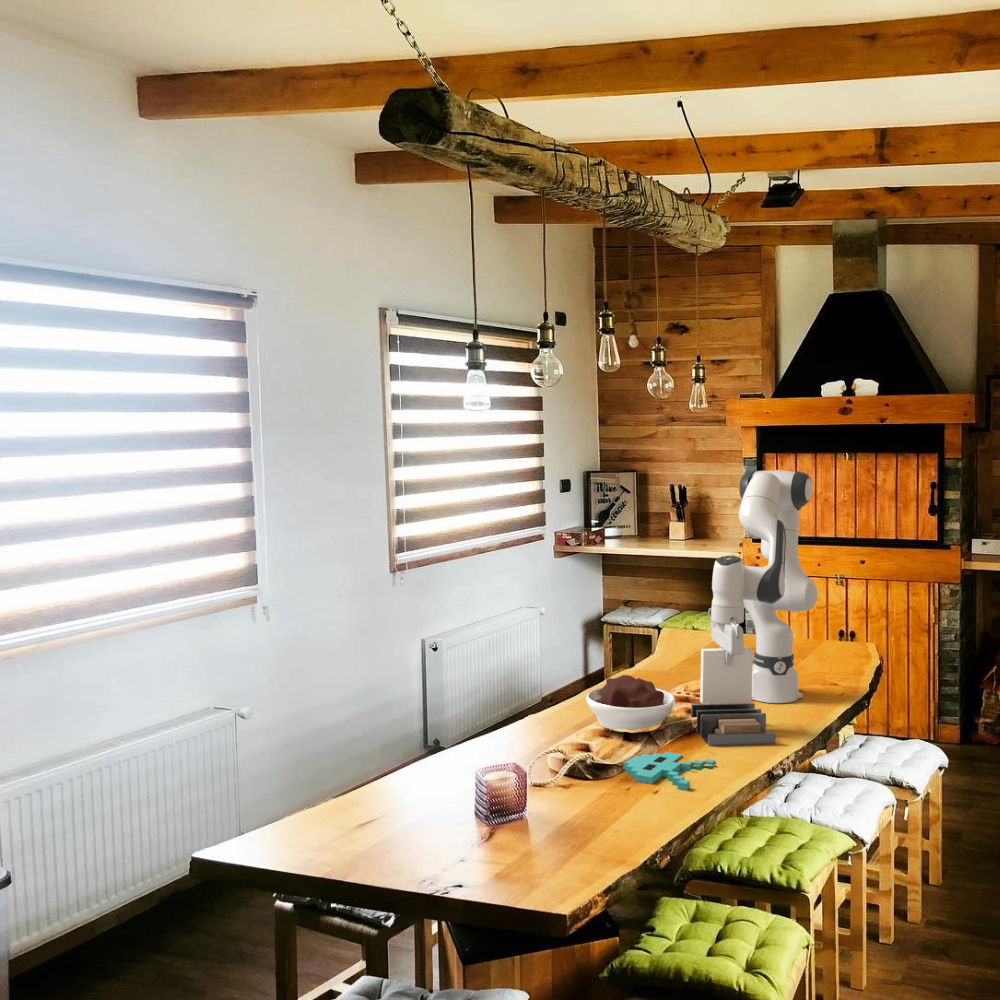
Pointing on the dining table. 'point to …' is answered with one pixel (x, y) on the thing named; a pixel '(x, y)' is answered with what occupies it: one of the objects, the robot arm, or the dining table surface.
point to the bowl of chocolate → (629, 703)
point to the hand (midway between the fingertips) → (726, 663)
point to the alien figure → (663, 768)
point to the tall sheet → (726, 677)
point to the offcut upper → (739, 726)
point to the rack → (714, 712)
